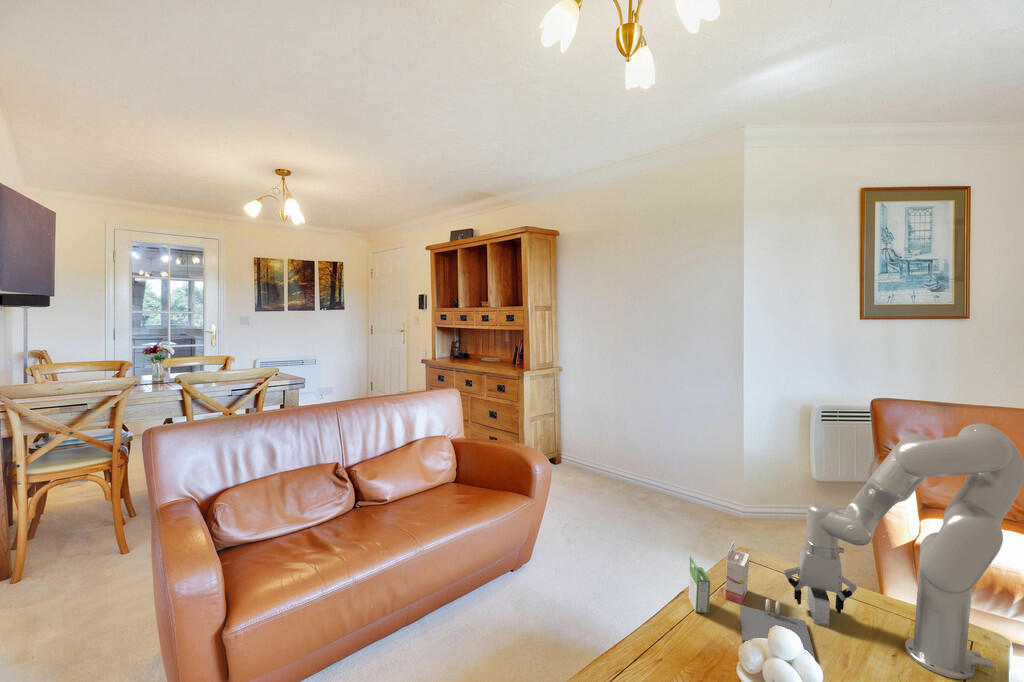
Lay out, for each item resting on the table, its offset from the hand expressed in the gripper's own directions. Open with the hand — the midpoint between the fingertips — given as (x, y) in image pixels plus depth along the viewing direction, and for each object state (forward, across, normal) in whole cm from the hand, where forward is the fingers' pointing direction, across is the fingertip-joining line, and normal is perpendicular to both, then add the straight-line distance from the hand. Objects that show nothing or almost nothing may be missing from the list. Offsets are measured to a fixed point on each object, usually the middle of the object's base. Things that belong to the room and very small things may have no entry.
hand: (818, 606), depth 132 cm
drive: (+2, 0, 0) cm, 2 cm away
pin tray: (+2, +12, +14) cm, 19 cm away
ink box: (+2, +31, +10) cm, 33 cm away
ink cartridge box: (+2, +21, 0) cm, 21 cm away
